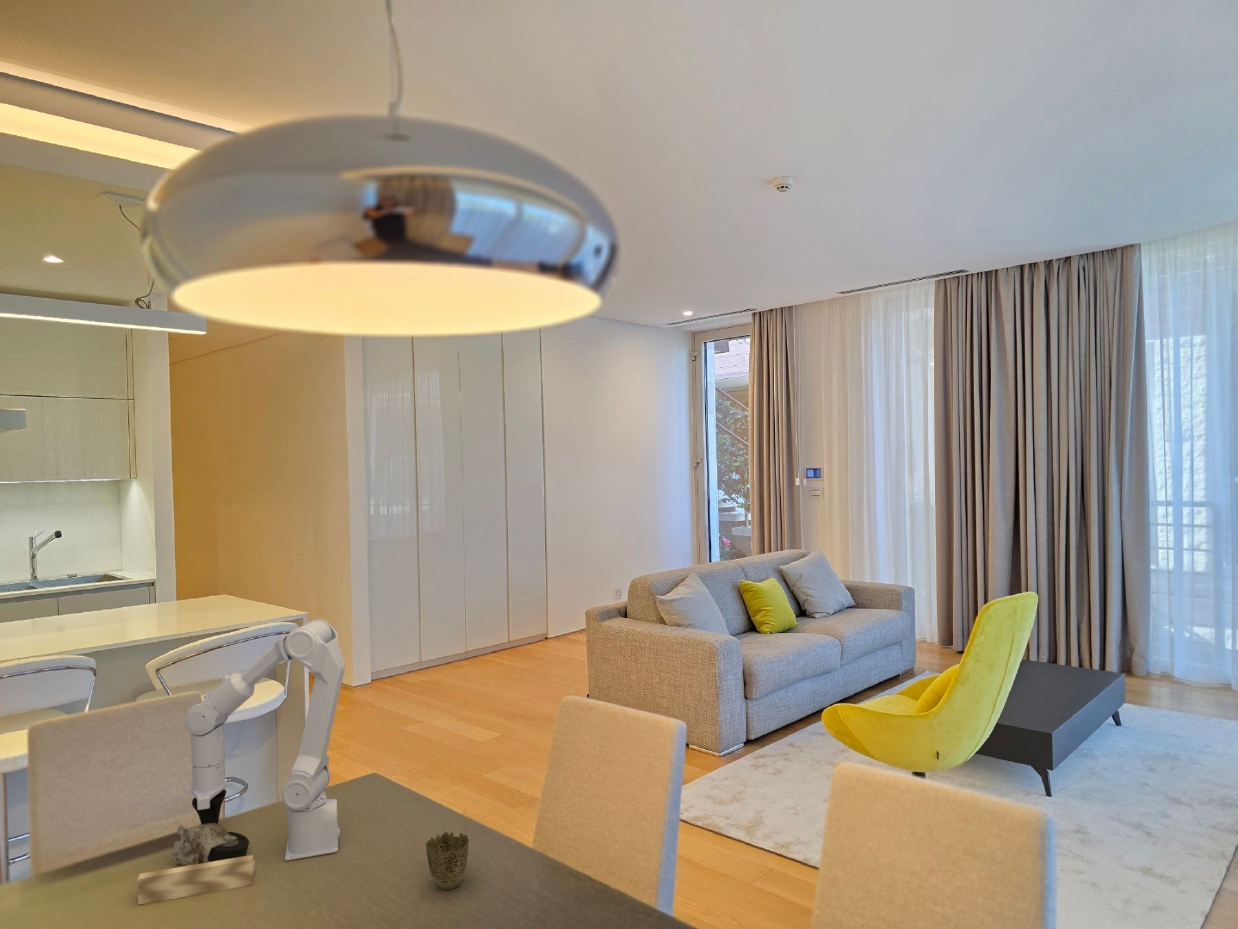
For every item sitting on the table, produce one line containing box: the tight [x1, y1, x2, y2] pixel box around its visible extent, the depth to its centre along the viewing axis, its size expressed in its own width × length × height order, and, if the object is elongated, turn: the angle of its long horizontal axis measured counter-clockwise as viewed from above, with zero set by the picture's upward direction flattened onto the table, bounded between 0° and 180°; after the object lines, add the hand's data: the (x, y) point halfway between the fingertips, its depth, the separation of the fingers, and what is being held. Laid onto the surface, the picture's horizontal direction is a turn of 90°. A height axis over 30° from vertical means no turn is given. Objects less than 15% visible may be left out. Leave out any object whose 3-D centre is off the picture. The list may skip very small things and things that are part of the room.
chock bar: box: [137, 854, 256, 906], centre depth 146 cm, size 18×5×4 cm, turn 109°
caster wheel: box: [170, 823, 250, 867], centre depth 157 cm, size 7×11×10 cm
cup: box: [425, 831, 470, 891], centre depth 144 cm, size 8×7×8 cm
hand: (210, 832), depth 160 cm, fingers closed
